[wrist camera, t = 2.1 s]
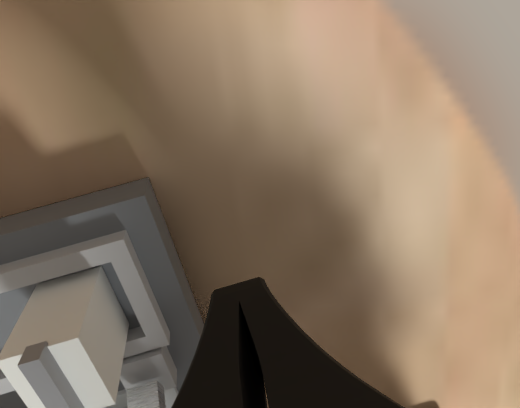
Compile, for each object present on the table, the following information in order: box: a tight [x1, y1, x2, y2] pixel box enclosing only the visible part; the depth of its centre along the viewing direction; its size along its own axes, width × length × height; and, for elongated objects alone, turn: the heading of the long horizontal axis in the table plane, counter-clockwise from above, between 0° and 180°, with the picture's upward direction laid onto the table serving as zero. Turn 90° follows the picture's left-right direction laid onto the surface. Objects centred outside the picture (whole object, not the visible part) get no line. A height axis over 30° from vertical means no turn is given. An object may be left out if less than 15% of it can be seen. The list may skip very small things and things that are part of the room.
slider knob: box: [0, 266, 129, 408], centre depth 12 cm, size 3×2×4 cm
